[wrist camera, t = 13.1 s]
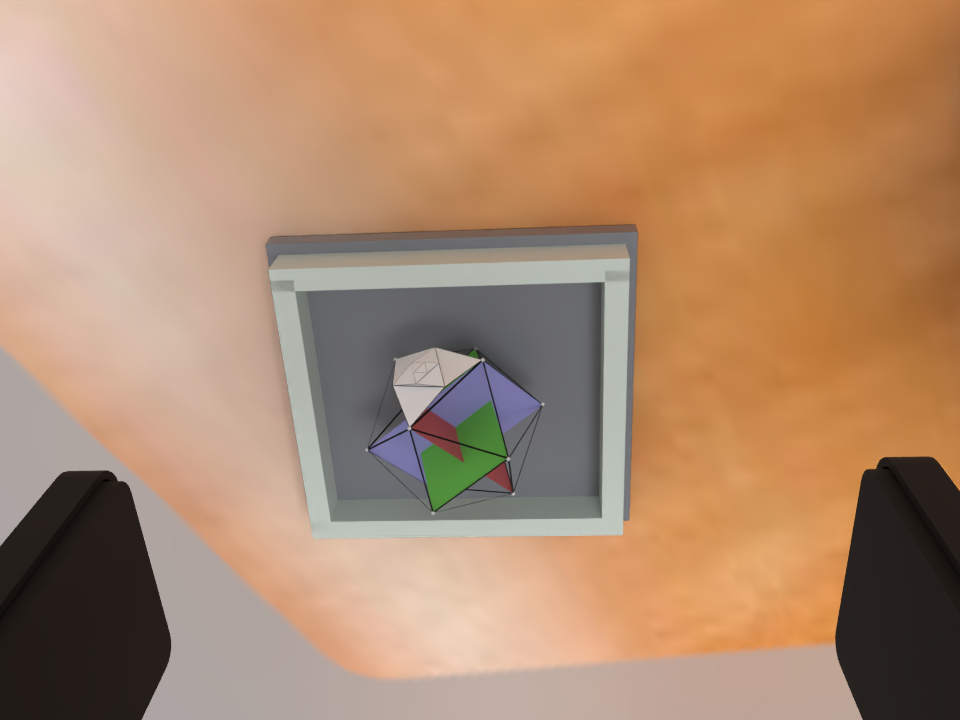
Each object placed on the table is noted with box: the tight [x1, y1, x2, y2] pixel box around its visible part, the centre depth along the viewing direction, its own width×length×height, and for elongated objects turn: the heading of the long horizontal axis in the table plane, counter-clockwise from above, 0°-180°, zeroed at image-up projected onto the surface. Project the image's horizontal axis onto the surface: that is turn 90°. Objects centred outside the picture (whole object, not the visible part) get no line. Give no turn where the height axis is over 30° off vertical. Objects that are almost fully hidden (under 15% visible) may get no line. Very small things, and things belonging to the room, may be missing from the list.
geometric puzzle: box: [365, 347, 544, 515], centre depth 39 cm, size 7×7×8 cm
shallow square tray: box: [266, 225, 638, 539], centre depth 41 cm, size 16×15×3 cm
